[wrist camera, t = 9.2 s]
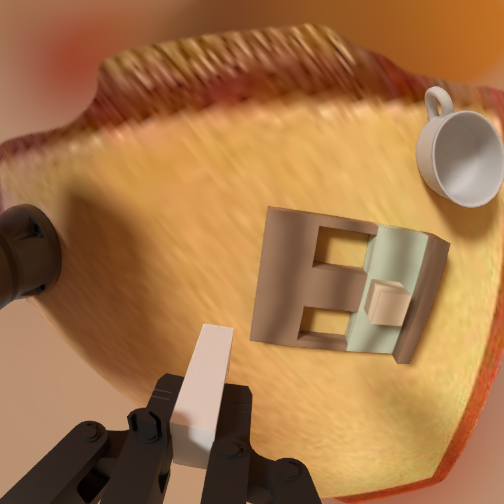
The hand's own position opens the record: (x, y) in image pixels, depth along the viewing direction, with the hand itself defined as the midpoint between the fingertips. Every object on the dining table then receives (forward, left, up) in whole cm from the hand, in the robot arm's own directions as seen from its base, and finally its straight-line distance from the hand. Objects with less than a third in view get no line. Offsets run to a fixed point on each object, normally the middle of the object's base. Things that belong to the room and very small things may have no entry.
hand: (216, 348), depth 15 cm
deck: (+12, -5, -23) cm, 27 cm away
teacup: (+22, +15, -24) cm, 36 cm away
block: (+17, -5, -21) cm, 27 cm away
